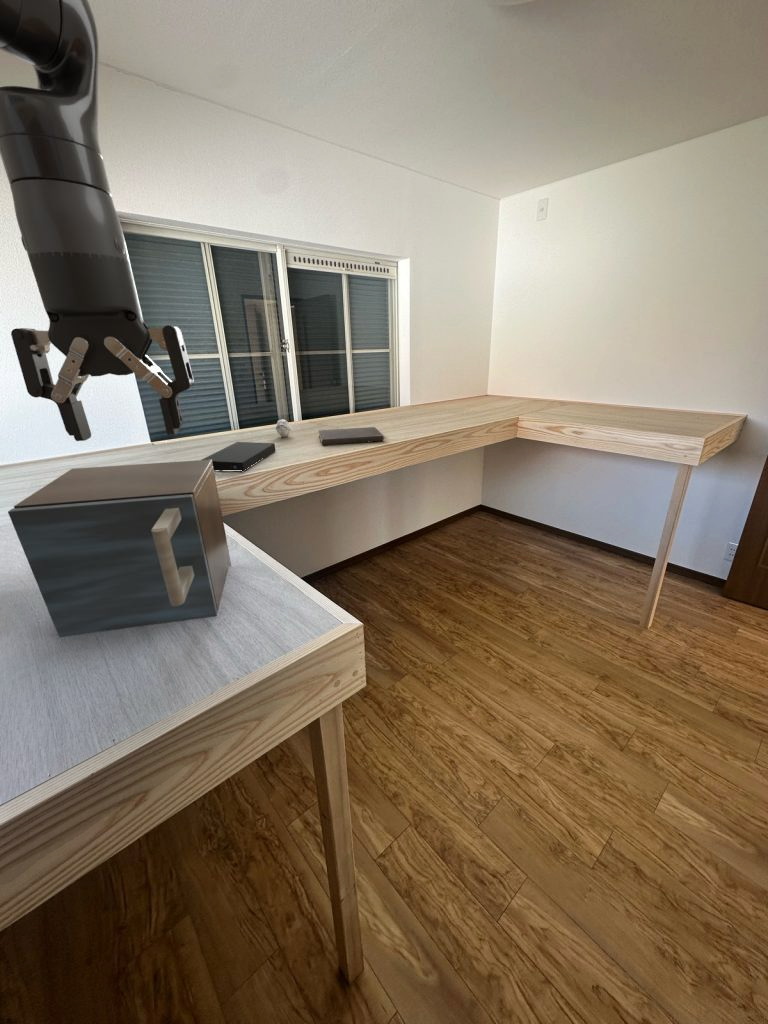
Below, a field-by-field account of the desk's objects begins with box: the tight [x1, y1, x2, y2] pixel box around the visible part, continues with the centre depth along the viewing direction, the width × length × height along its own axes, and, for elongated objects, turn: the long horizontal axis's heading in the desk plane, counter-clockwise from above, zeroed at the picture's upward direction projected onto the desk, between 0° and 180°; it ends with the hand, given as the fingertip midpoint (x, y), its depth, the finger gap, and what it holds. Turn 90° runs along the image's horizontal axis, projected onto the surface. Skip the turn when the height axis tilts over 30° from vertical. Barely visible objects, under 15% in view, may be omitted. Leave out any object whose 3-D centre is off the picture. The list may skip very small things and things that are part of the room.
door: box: [7, 494, 219, 638], centre depth 51 cm, size 8×20×20 cm, turn 102°
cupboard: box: [13, 459, 232, 611], centre depth 62 cm, size 15×20×20 cm
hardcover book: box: [317, 426, 385, 446], centre depth 160 cm, size 16×23×2 cm
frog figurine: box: [275, 418, 292, 438], centre depth 164 cm, size 6×7×7 cm
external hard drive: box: [201, 441, 276, 472], centre depth 135 cm, size 14×23×3 cm, turn 170°
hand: (129, 436), depth 43 cm, fingers open, 8 cm apart
